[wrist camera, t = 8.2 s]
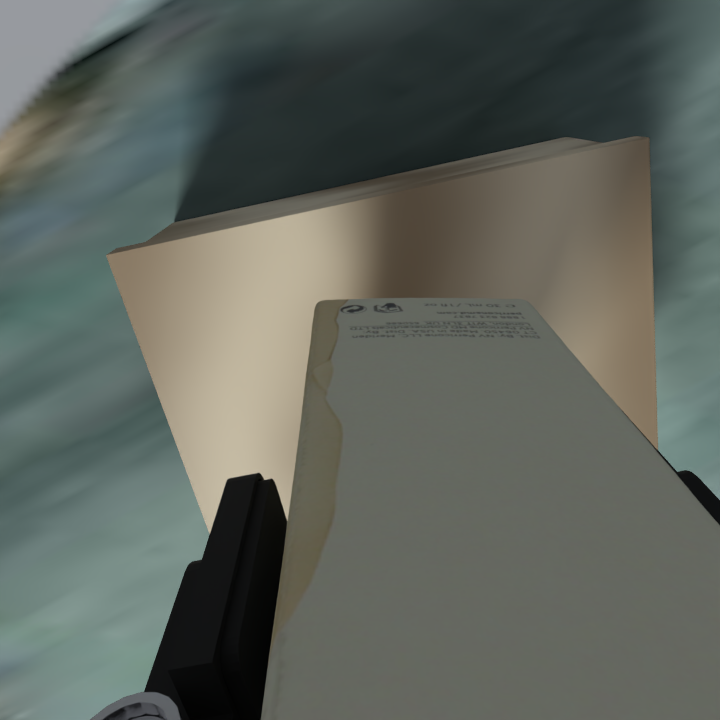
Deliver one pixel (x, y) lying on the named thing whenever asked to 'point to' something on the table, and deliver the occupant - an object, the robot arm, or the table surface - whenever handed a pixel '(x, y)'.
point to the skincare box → (483, 533)
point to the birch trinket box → (389, 287)
